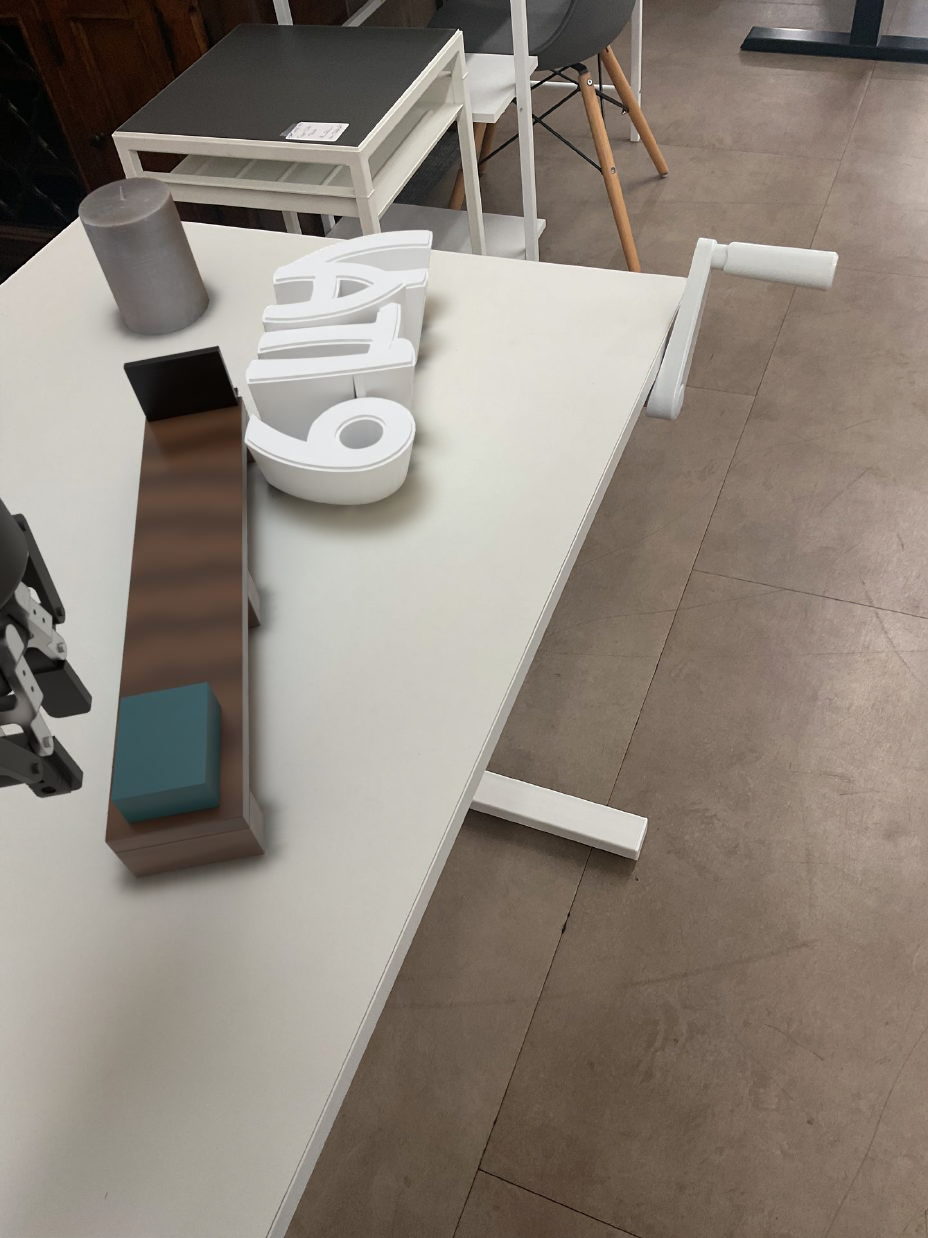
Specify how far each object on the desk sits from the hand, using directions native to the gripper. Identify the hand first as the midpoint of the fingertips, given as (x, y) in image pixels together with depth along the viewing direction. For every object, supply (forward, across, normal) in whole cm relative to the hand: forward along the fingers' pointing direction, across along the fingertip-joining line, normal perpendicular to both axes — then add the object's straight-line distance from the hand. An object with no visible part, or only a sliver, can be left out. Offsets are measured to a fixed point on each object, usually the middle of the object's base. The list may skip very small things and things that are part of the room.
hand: (68, 746), depth 51 cm
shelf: (+21, -26, 0) cm, 33 cm away
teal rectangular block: (+15, -8, 0) cm, 17 cm away
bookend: (+15, -46, 0) cm, 49 cm away
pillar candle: (+21, -73, -6) cm, 76 cm away
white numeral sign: (+21, -50, +15) cm, 57 cm away
